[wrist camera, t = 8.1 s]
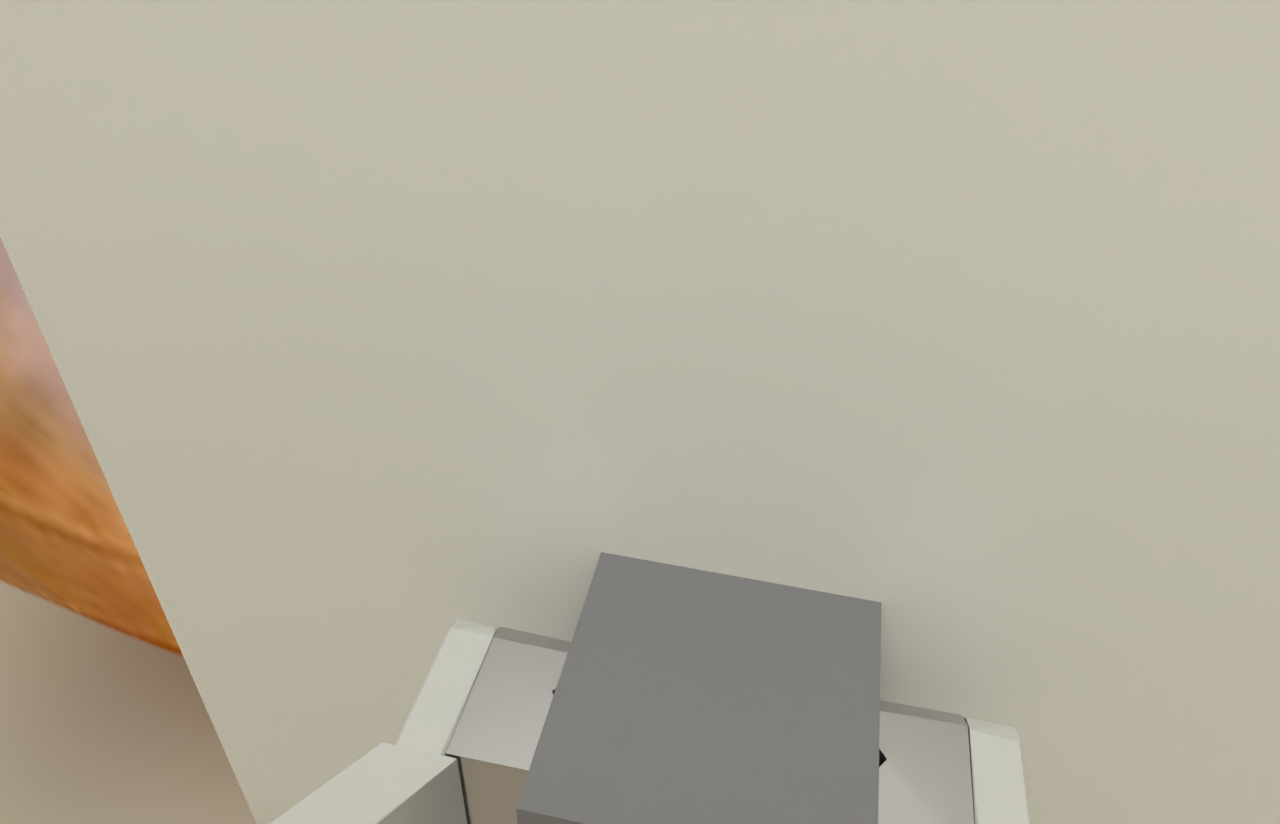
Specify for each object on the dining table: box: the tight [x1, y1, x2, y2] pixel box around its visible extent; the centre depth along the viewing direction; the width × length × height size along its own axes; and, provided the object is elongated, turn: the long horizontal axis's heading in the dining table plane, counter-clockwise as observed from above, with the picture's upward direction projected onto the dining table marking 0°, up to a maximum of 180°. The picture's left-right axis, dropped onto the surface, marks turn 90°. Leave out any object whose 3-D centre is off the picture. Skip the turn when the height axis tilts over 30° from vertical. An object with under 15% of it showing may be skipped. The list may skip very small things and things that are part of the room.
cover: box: [0, 0, 1280, 824], centre depth 13 cm, size 15×15×11 cm
